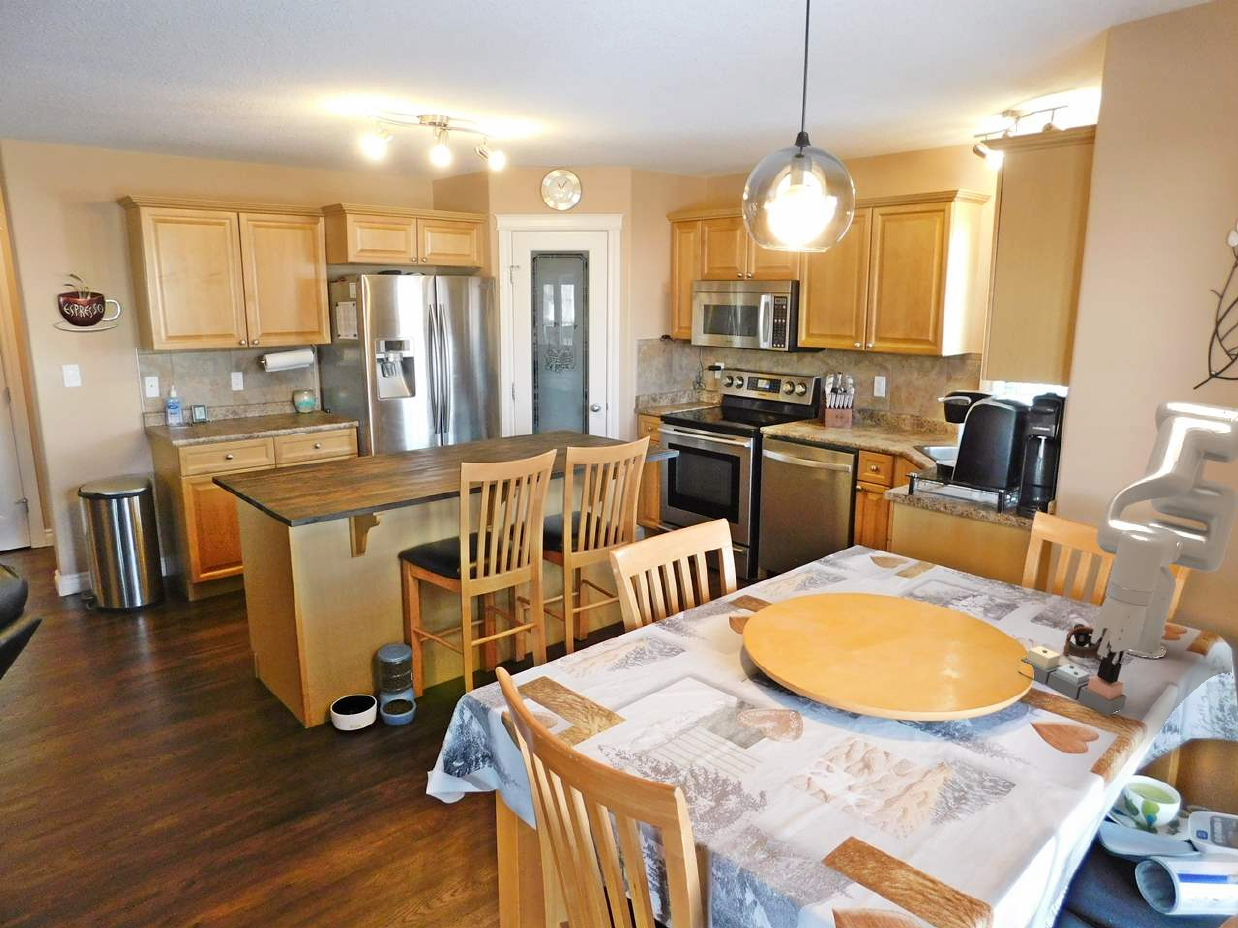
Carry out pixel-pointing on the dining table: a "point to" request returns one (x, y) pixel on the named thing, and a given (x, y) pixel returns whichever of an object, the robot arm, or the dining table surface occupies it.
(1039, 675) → the tile one base
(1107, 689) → the button three
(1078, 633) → the pottery mug
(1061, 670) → the button two
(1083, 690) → the tile base
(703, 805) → the dining table surface
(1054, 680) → the tile two base
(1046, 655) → the button one
